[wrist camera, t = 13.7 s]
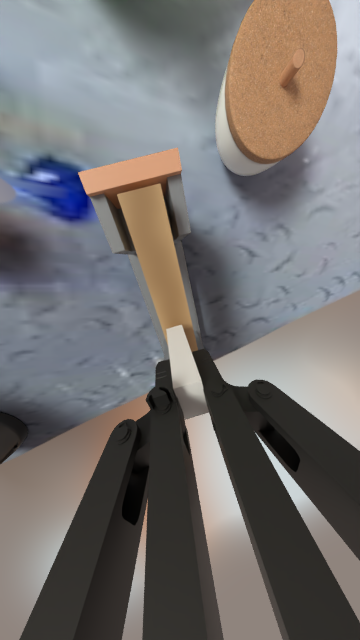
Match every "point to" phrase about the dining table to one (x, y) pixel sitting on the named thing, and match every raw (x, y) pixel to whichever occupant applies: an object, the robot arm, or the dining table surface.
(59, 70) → the dining table surface
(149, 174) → the stand
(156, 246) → the slat
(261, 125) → the lidded jar
